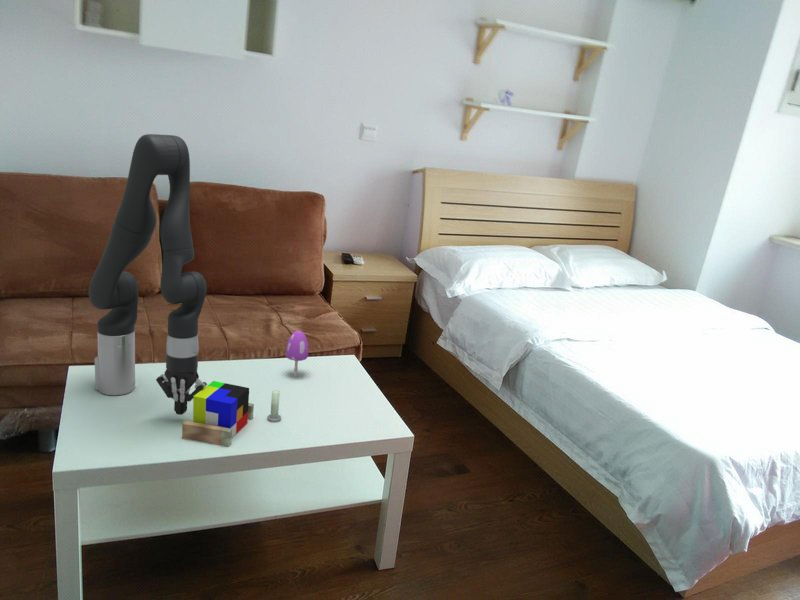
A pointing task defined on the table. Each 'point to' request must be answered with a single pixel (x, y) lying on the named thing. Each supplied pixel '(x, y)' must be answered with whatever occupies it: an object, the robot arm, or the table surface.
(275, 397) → the goal post
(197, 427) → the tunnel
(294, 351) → the toy
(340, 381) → the table surface
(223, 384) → the puzzle toy
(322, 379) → the table surface
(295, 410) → the table surface
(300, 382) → the table surface
